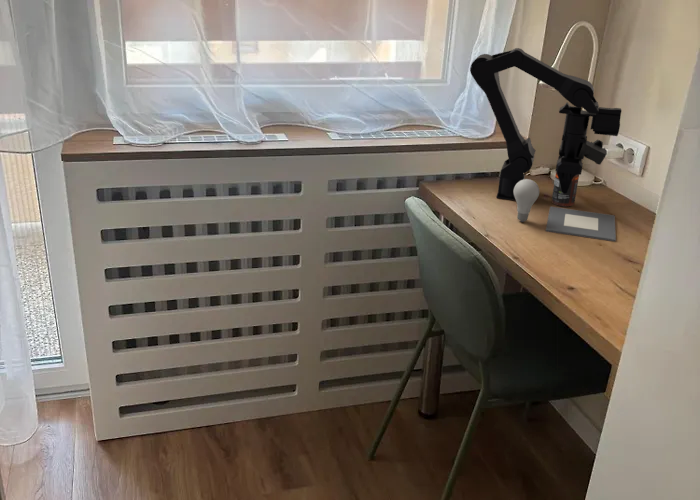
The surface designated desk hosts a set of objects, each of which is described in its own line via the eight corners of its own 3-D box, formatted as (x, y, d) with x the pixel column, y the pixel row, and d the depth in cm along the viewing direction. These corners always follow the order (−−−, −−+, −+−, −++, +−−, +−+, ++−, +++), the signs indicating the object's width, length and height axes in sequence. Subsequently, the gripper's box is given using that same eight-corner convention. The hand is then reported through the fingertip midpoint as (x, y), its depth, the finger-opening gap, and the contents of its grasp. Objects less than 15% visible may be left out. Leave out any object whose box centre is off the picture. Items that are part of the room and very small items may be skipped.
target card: (545, 231, 166) (545, 228, 166) (549, 208, 180) (550, 206, 180) (615, 241, 162) (615, 239, 162) (614, 217, 176) (614, 215, 176)
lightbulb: (536, 219, 173) (543, 178, 168) (531, 228, 168) (538, 185, 163) (512, 215, 175) (518, 174, 170) (506, 223, 170) (512, 181, 165)
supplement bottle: (571, 200, 186) (579, 159, 181) (576, 208, 181) (583, 167, 176) (549, 198, 187) (555, 158, 182) (553, 206, 181) (559, 165, 176)
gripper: (608, 145, 165) (596, 205, 172) (608, 126, 181) (597, 182, 188) (560, 139, 168) (550, 199, 175) (564, 121, 184) (555, 176, 191)
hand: (564, 189), depth 182 cm, fingers closed on supplement bottle, 6 cm apart
